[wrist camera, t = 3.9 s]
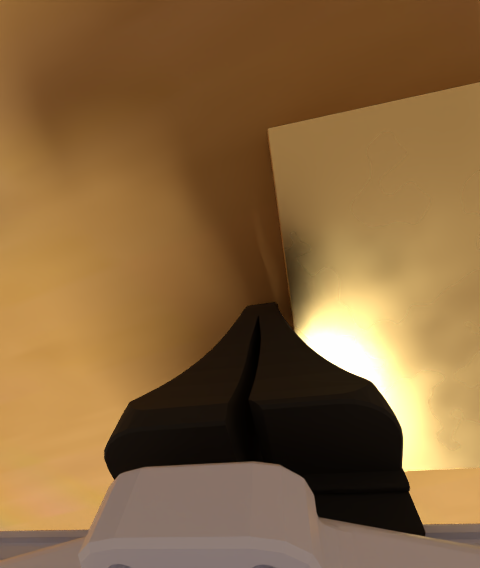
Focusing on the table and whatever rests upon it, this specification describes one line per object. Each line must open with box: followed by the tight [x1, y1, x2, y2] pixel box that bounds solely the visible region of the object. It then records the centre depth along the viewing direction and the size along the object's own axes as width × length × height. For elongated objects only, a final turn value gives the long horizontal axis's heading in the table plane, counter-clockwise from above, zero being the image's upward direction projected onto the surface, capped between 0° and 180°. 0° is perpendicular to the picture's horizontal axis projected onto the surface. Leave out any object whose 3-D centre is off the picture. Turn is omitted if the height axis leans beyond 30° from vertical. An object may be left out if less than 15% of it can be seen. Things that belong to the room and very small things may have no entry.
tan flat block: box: [267, 82, 480, 471], centre depth 10 cm, size 14×9×4 cm, turn 11°
